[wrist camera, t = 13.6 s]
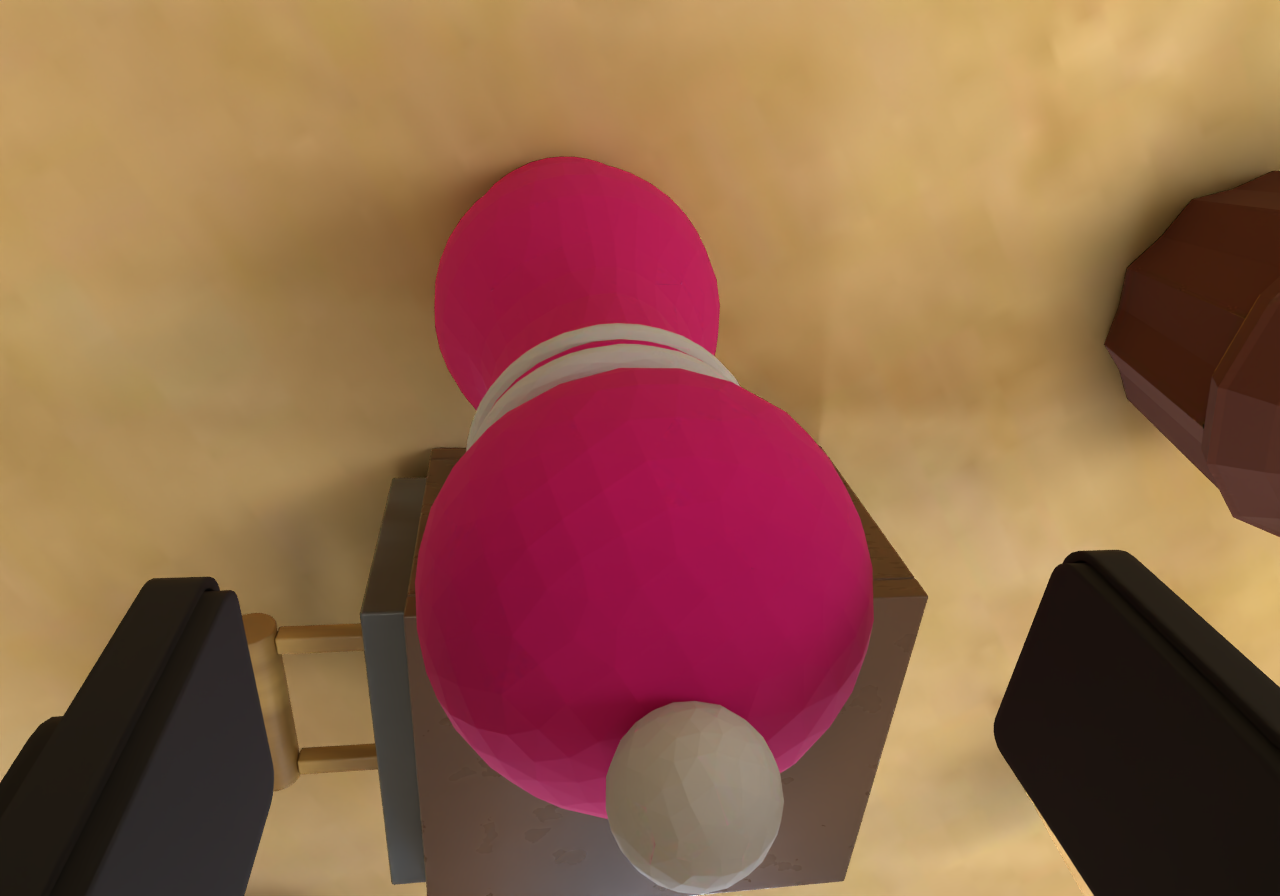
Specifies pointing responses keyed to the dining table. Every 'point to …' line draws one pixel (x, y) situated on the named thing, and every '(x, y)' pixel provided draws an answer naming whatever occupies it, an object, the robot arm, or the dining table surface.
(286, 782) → the drawer
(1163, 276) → the muffin
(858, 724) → the cabinet
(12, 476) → the dining table surface
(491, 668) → the pepper mill
